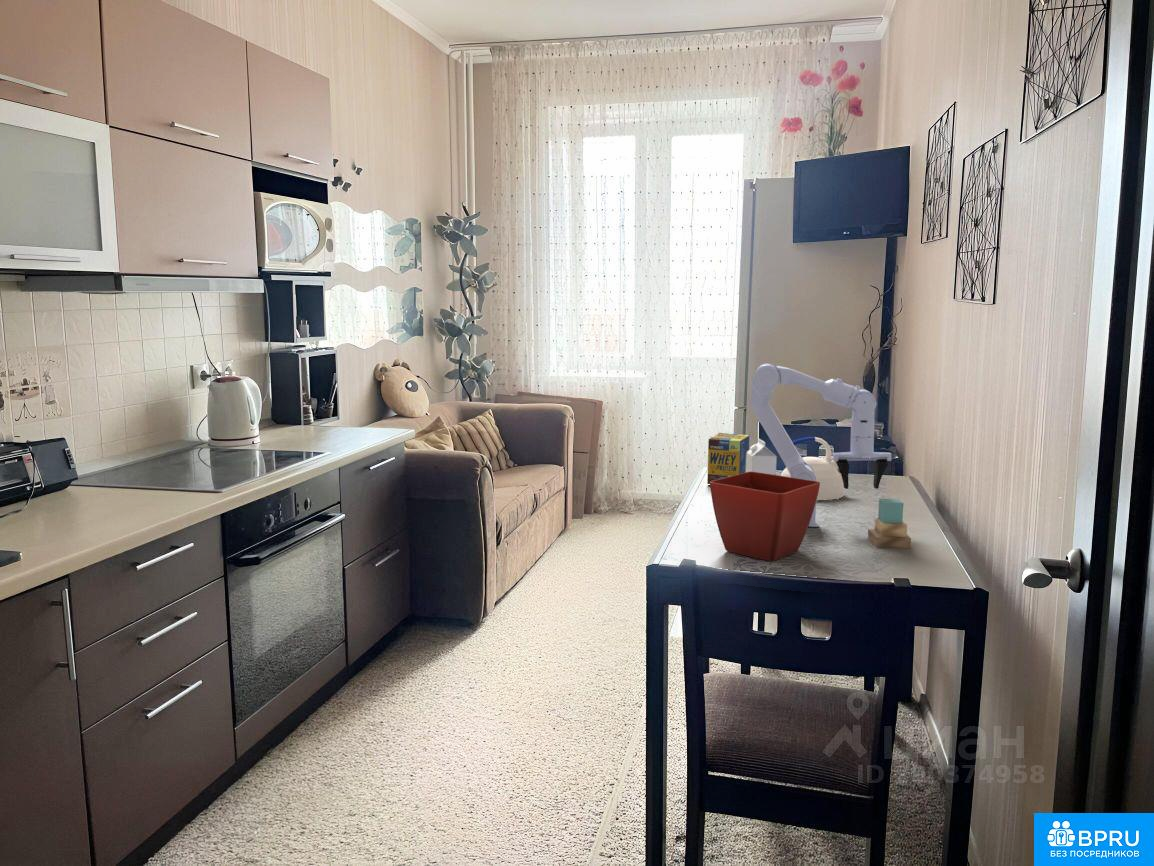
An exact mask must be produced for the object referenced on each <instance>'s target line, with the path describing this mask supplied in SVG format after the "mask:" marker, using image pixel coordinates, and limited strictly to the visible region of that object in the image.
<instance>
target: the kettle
mask: <svg viewBox="0 0 1154 866" xmlns="http://www.w3.org/2000/svg"><path fill="white" fill-rule="evenodd" d="M791 441H792V442H793V444H794V446H795V445H798V444H802V443H806V442H817V443H820V444H821V445H823V447H824V450H825V455H824V456H825V457H824V458H821V457H818V456H803V457H802V458H803V460H804V461H805V463H807V464H808V465H810V466H811V467H812V468H813V470H814V473H815V476H816V481H817V482H820V487H819V492H818V496H817V500H824V499H825V500H828V499H837V498H841V497H843V496H844V497H845V488H844V485H843V479H842V476H841V473H840V471H839V468H838V466H837V464H836V461H833V460H832V458H833V452H832V449H831V446H830V445H829V443H828V442H827V441H825V440H824V439H823V438H820V437H816V436H808V437H802V438H797V439H794V440H791ZM780 476H785V477H791V475H790V473H789V471H788V470H787V467H786V466H785V468H784V469H783V470H782V472H781V474H780ZM844 497H843V498H844ZM841 499H842V498H841ZM837 500H838V499H837Z"/></svg>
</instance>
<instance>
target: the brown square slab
mask: <svg viewBox="0 0 1154 866" xmlns="http://www.w3.org/2000/svg"><path fill="white" fill-rule="evenodd" d="M867 539H868V540H869V541H870V543H872V544H873V545H874V546H875V547H876V548H898V549H899V548H904V549H911V545H912V544H911V543H912V537H911V536H910V535H908V534H907V537H896V536H880V535H879V534H878V533H877V532H876V531H875V528H868V530H867Z"/></svg>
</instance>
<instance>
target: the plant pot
mask: <svg viewBox="0 0 1154 866" xmlns="http://www.w3.org/2000/svg"><path fill="white" fill-rule="evenodd" d="M819 487H820V482H817V481H810V480H804V479H798V478H791V477H785V476H781V475H777V474H776V475H772V474H765V473H759V472H745V473H741V474H737V475H733V476H729V477H725V478H721V479H717V480H713V481H710V486H709V488H710V495H711V500H712V501H711V502H712V507H713V508H712V509H713V512H714V517H715V520H716V524H717V528H718V533H719V536H720V538H721V541H722V544H723V547H724V549H725V551H726V552H729V553H734V554H738V555H742V556H747V557H749V558H754V559H758V560H759V559H760V560H763V561H767V562H775V561H777V560H780V559H782V558H784V557H787V556H789V555H790V556H791V555H792V554H794V553H796V552H798V551H799V549H800V547H801V545H802V543H803V540H804V538H805V536H806V533H807V530H808V528H809V527H808V525H809V523H810V520H811V517H812V514H813V510H814V507H815V503H816V504H817V501H816V500H817V496H818V492H819Z"/></svg>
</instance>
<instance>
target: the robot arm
mask: <svg viewBox="0 0 1154 866" xmlns="http://www.w3.org/2000/svg"><path fill="white" fill-rule="evenodd" d="M779 382H780V384H779ZM778 384H779V385H780V386H786V385H791V384H793V385H795V386H798V387H801V388H805V389H808V390H811V391H814V392H817V393H820V394H821V396H822V398H823V400H824V401H827V402H829V403H830V402H831V403H833V404H836V405H839V406H842V407H844V408H852V409H851V411H852V413H851V419H850V448H849V449H850V451H845V452H832V458H831V461H832V460H833V461H836V464H837V466H838V471H839V473H840V474H841V477H842V479H843V485H844V490H845V489H846V490H847V489H849V473H850V472H849V471H850V464H849V462H851V461H853V462H854V461H858V462H860V461H865V462H866V461H868V462H869V461H872V462H873V488H874V489H877V490H878V489H879V488H880V482H881V479H882V477H883V475H884V472H885V471H886V469H887V468H888V465H889V462H891V461H892V453H891V452H885V451H884V452H882V451H881V452H880V451H874V450H875V449H874V447H875V446H874V444H875V443H874V441H875V409H876V407H877V404H878V402H877V399H876V397H875V395H874V394H873V393H871V391H869V390H867V389H865V388H861V386H860V385H855V386H854V385H851V384H848V383H845V382H843V379H841V378H838V377H837V378H836V379H835V378H831V379H828V380H826V381H824V380H822V379H819V378H816V377H814V376H811V375H809V374H805V373H803V372H801V371H798V370H796V369H793V368H789V367H785V366H781V365H774V364H771V363H768V362H767V363H762V364H761V365H758V367H757V368H756V370H755V372H754V375H753V377H752V380H751V385H750V386H751V387H750V396H749V397H750V399H749V406H750V408H751V410H752V411H753V413H754V415H755V417H756V418H757V420H758V421H759V423H760V425H761V426H762V427H763V430H764V431H765V433H766V435H767V436H768V438H769V440H770V442H771V443H772V445H773V447H774V448H775V450H776V451H777V453H778V455H779V456H780V458H781V460H782V462H783V464H784V466H785V468H786V467H787V470H788V471H789V473H790V475H791V478H798V479H804V480H810V481H816V476H815V473H814V470H813V468H812V467H811V466H810V465H808V464H807V463H805V461H804V460H803V457H802V455H801V454H800V453H799V451H798V450H797V447H796V446H795V445H794V444H793V442H792V441H793V440H792V439H791V437H790V435H788V434H789V433H787V431H786V429H785V427H784V426H783V424H782V422H781V421H780V419H779V417H778V415H777V414H776V413H775V411H774V409H773V407H772V406H771V404H770V400H771V397H772V392H773V391H774V390H775V388H776V387H777V385H778ZM816 512H817V502H816V503H815V507H814V510H813V514H812V517H811V520H810V523H809V525H808V528H819V527H820V524H819V523H818V522H817V520H816V518H817V513H816Z"/></svg>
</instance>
